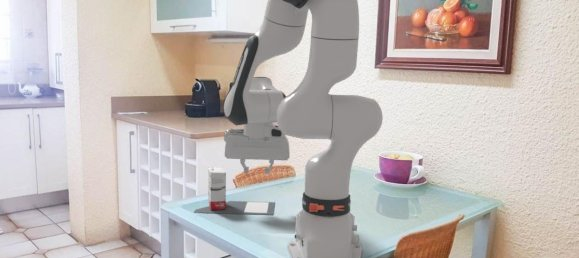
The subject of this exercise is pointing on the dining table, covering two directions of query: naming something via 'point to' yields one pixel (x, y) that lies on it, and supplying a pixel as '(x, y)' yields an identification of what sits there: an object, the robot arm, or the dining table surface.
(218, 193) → the ink box
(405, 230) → the dining table surface
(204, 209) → the mat
